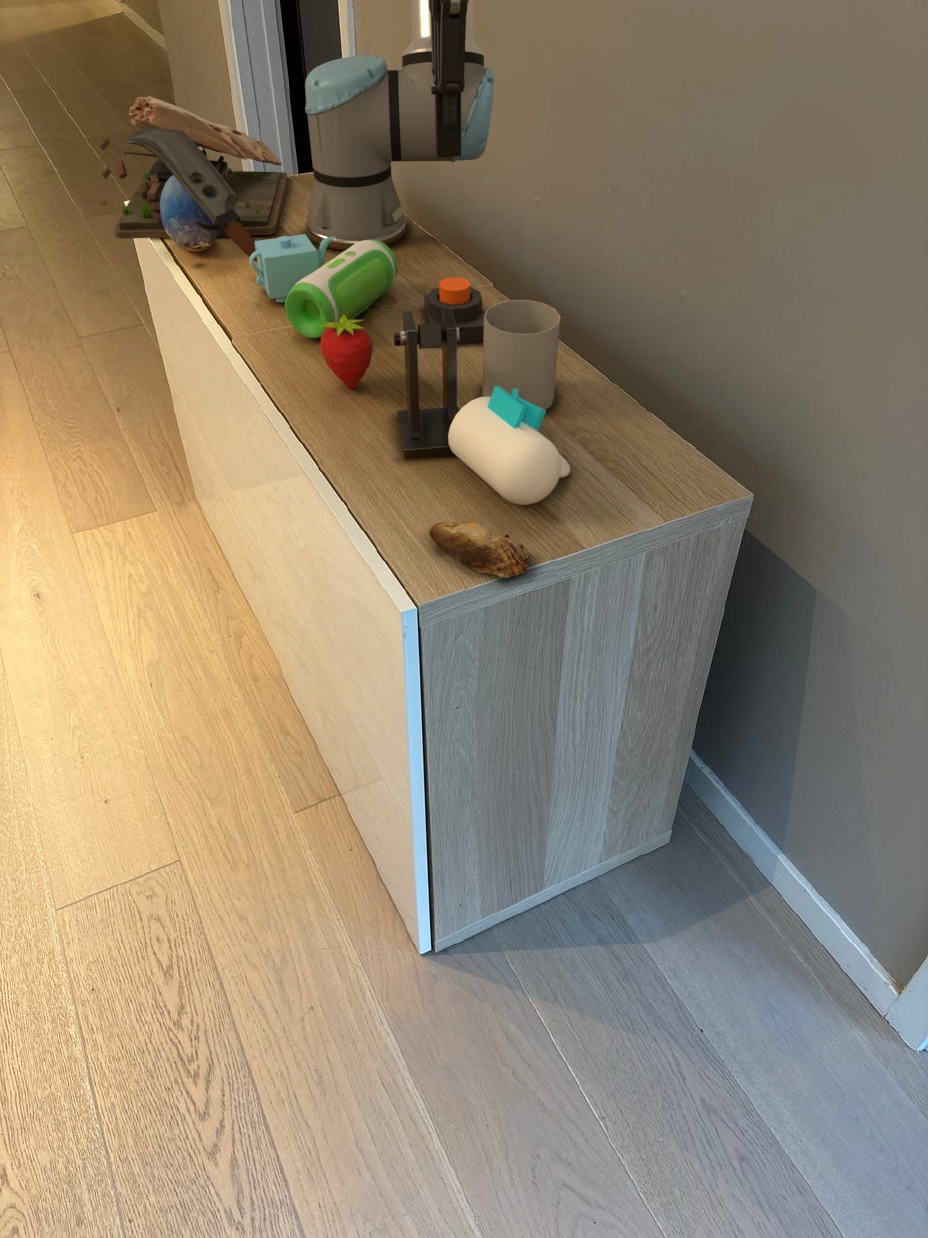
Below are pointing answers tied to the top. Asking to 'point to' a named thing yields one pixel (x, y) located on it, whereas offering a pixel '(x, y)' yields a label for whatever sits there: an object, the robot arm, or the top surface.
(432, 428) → the bracket
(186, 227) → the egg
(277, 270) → the teapot
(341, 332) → the strawberry
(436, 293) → the control block
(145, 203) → the tank diorama
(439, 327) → the lever
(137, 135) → the knife
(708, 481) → the top surface
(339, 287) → the speaker
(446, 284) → the button
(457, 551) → the oyster shell
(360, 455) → the top surface
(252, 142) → the broken wood plank
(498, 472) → the white handled jug
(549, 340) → the cup
